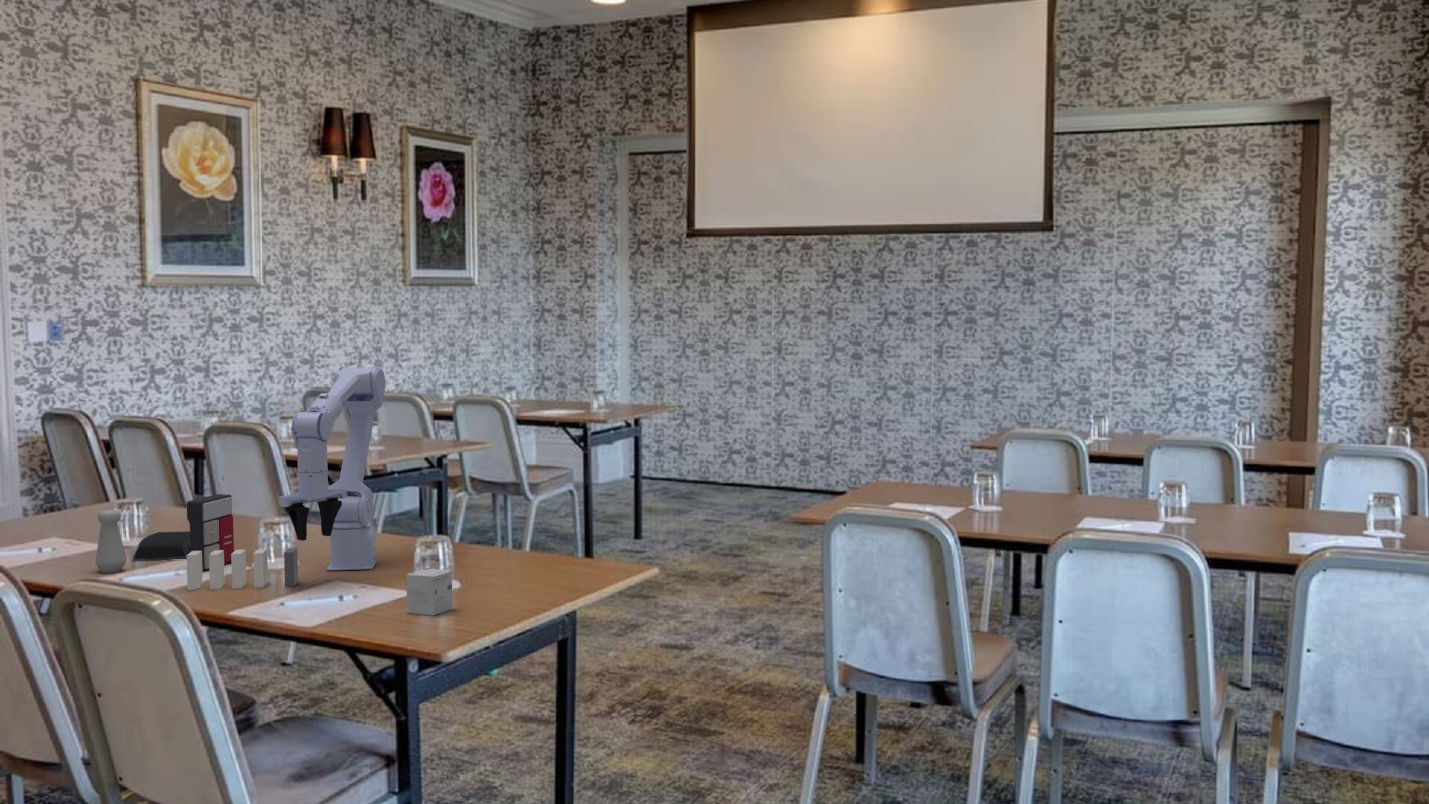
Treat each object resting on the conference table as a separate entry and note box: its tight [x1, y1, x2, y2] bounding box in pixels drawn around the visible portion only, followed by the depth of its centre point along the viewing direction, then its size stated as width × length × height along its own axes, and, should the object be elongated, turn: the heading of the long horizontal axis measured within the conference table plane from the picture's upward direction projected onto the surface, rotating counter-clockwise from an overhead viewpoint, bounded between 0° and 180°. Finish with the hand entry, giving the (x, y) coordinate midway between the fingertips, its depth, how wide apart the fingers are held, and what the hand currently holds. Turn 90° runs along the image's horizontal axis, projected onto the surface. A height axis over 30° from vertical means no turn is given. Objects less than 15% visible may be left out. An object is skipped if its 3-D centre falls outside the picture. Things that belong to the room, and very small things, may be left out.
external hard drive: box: [131, 531, 191, 563], centre depth 278 cm, size 13×19×4 cm
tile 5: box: [186, 551, 204, 591], centre depth 242 cm, size 2×4×7 cm, turn 9°
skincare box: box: [406, 567, 453, 616], centre depth 224 cm, size 6×6×7 cm
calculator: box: [186, 493, 235, 572], centre depth 262 cm, size 11×4×15 cm, turn 168°
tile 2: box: [252, 548, 269, 589], centre depth 244 cm, size 2×4×7 cm, turn 9°
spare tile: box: [283, 547, 299, 588], centre depth 245 cm, size 2×4×7 cm, turn 9°
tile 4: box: [208, 550, 226, 590], centre depth 243 cm, size 2×4×7 cm, turn 10°
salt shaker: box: [95, 509, 127, 574], centre depth 257 cm, size 6×6×13 cm
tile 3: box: [230, 549, 247, 590], centre depth 243 cm, size 2×4×7 cm, turn 10°
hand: (314, 537), depth 245 cm, fingers open, 5 cm apart
